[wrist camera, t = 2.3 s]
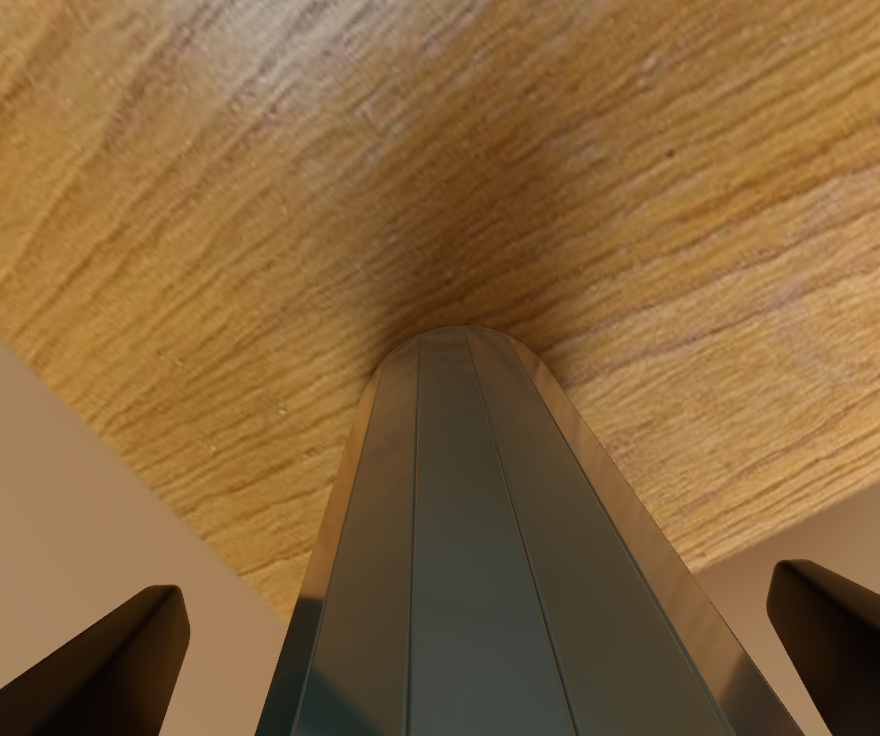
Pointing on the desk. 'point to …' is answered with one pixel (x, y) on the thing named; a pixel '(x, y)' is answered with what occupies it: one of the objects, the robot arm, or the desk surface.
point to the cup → (499, 574)
